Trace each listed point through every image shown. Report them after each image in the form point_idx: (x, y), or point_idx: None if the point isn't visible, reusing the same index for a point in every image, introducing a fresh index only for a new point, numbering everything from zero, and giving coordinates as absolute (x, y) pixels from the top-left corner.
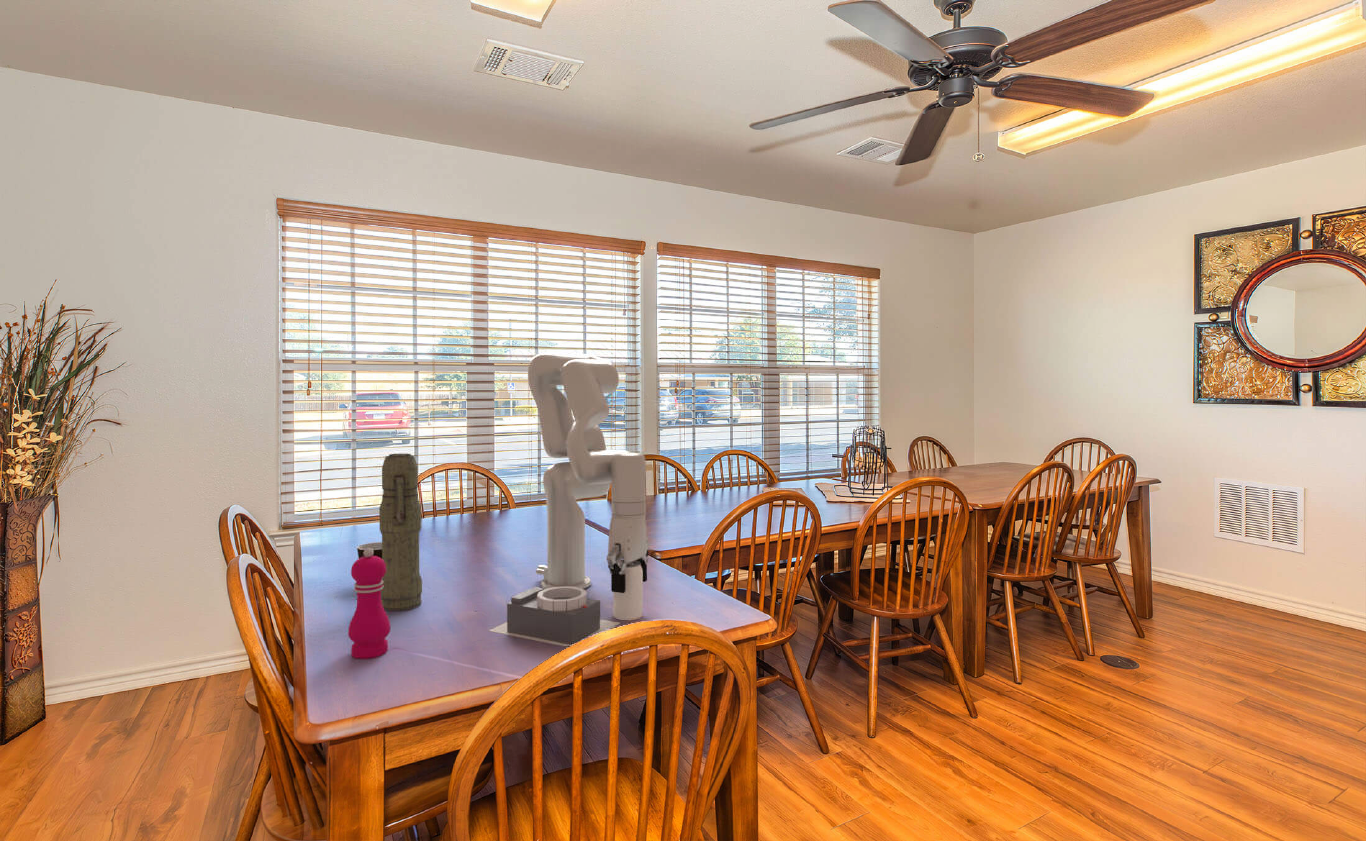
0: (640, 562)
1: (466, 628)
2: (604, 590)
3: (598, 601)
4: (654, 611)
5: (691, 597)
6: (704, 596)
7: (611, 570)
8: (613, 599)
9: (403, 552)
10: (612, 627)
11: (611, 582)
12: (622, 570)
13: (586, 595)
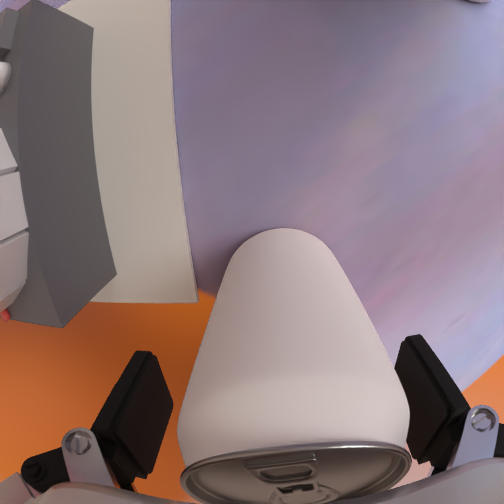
0: (435, 453)
1: (14, 3)
2: (479, 54)
3: (55, 326)
4: (374, 323)
5: (492, 331)
6: (496, 348)
7: (56, 455)
8: (230, 276)
9: None
10: (148, 302)
11: (117, 383)
12: (124, 488)
13: (10, 293)
